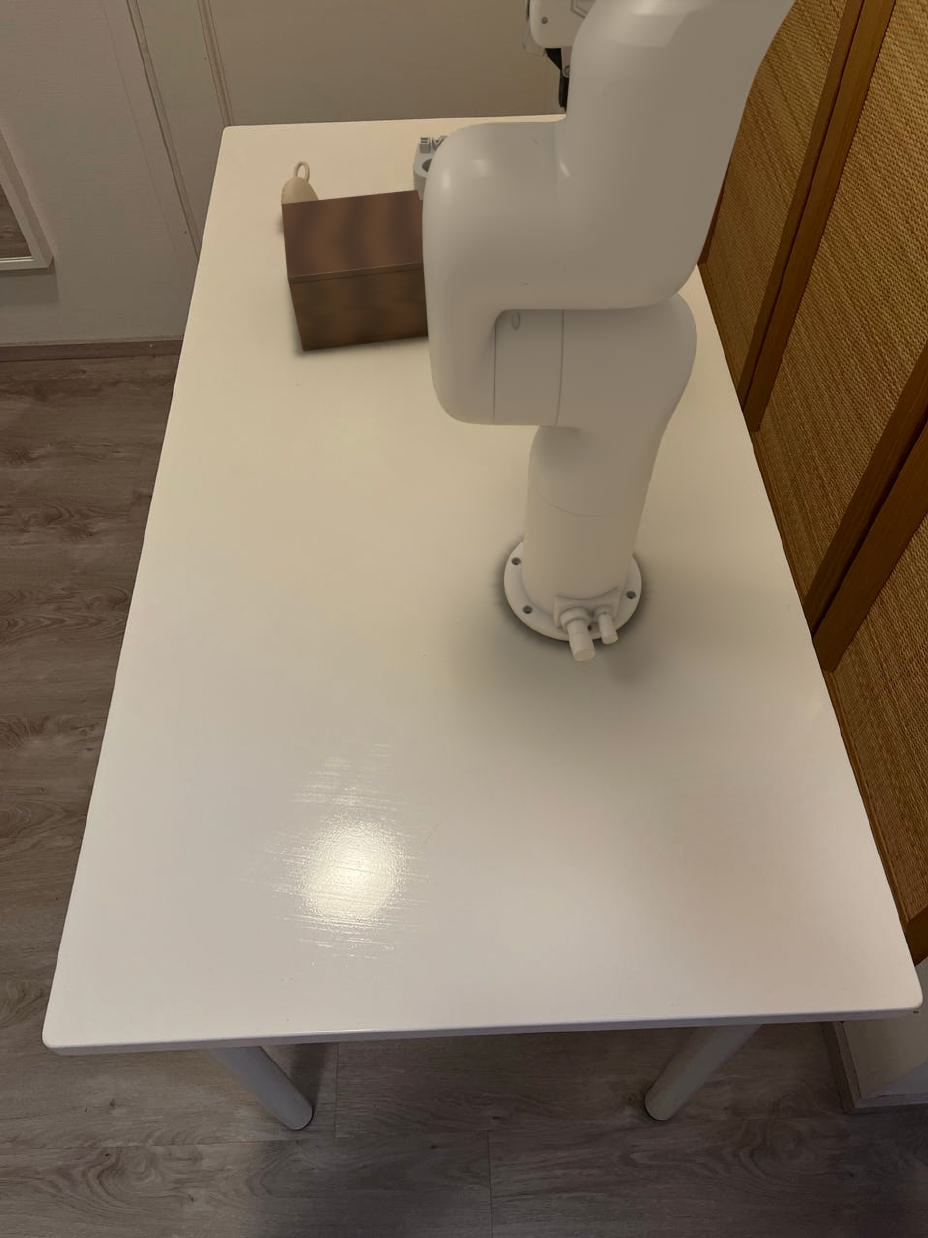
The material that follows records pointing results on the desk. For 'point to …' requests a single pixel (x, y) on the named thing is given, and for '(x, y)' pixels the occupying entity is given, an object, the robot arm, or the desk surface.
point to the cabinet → (356, 268)
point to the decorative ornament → (298, 187)
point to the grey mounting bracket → (424, 161)
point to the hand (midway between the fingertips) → (573, 111)
